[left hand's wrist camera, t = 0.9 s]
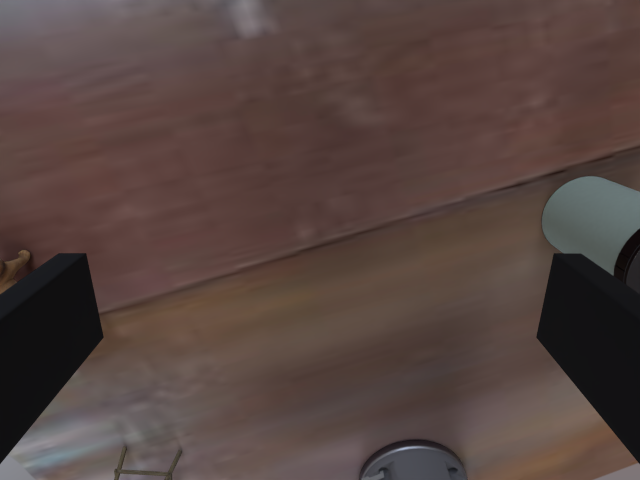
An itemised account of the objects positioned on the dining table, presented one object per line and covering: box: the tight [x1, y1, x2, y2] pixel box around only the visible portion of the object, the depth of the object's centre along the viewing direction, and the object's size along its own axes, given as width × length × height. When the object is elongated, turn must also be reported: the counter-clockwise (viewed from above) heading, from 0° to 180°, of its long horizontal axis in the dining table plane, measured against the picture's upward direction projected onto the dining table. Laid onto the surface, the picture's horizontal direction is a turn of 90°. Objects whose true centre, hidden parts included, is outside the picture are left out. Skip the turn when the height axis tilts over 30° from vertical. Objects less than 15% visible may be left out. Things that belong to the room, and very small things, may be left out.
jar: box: [542, 176, 640, 275], centre depth 42 cm, size 9×9×15 cm
